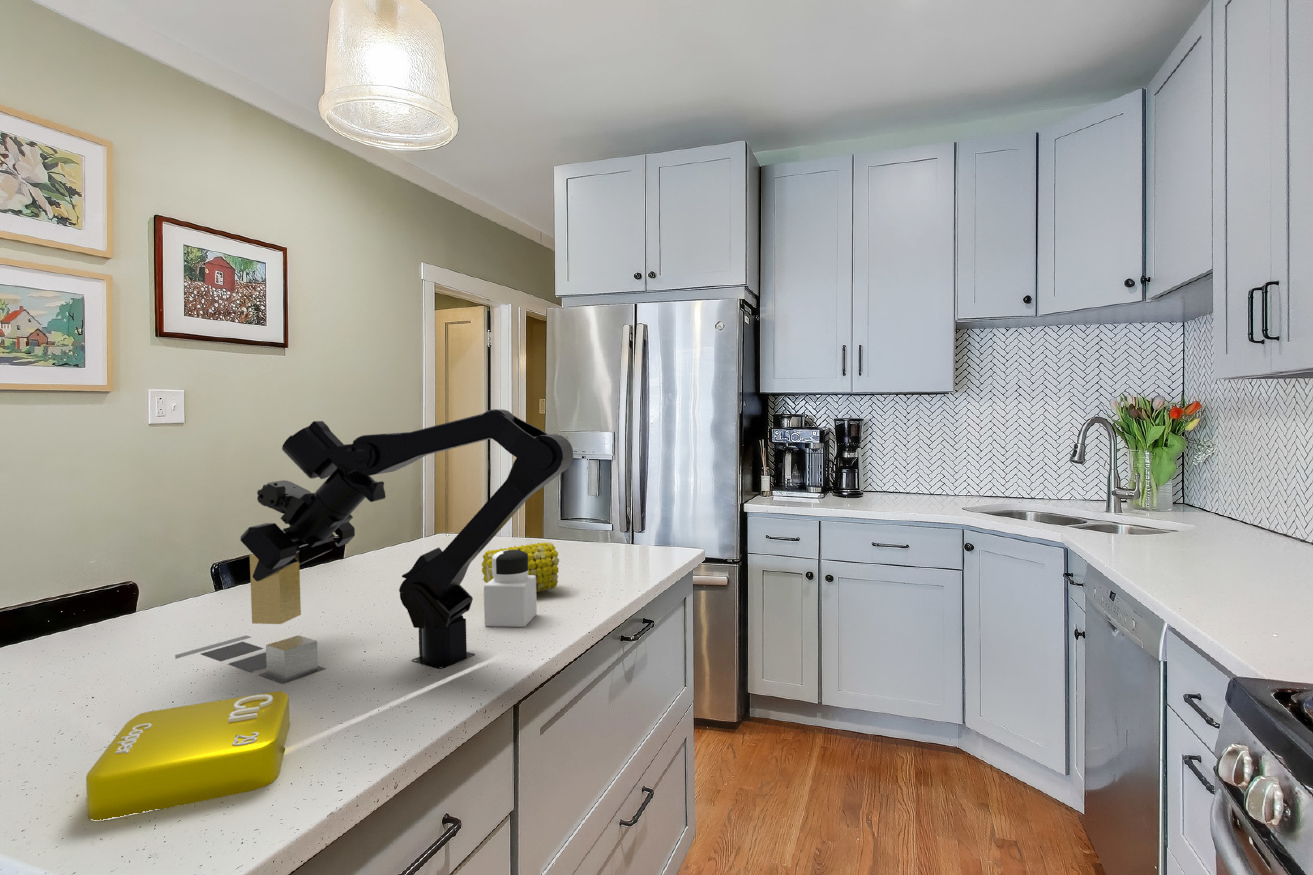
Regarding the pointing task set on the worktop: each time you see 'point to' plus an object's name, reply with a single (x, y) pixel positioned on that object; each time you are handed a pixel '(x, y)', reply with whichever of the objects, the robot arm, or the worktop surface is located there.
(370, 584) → the worktop surface
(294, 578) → the tan wooden block
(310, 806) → the worktop surface
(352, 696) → the worktop surface
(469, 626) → the worktop surface
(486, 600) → the medicine bottle
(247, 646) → the grey slotted plate
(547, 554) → the food
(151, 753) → the element tile
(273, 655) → the zinc block
